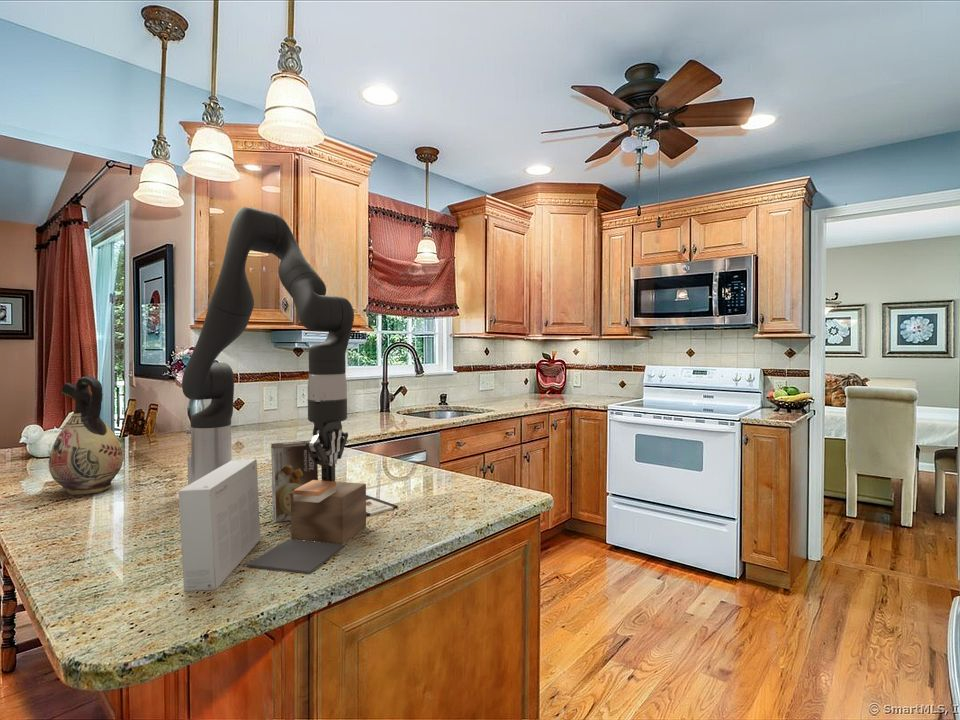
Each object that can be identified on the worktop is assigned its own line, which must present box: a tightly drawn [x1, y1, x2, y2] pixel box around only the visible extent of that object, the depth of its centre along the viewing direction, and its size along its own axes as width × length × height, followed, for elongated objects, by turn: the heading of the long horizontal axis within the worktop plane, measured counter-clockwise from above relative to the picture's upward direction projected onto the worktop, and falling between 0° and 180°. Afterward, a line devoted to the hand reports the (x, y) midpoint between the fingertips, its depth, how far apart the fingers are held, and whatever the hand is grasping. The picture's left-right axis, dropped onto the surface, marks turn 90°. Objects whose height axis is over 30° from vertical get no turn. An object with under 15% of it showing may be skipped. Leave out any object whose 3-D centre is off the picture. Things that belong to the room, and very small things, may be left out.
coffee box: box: [270, 439, 319, 523], centre depth 116 cm, size 9×6×16 cm
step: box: [290, 481, 367, 545], centre depth 105 cm, size 11×10×9 cm
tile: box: [294, 479, 337, 503], centre depth 99 cm, size 5×7×2 cm
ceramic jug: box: [48, 375, 124, 496], centre depth 135 cm, size 17×15×30 cm
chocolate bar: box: [366, 494, 399, 517], centre depth 124 cm, size 9×1×18 cm
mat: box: [245, 538, 346, 575], centre depth 93 cm, size 12×12×1 cm
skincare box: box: [178, 458, 262, 592], centre depth 90 cm, size 21×5×16 cm, turn 5°
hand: (328, 483), depth 104 cm, fingers closed
